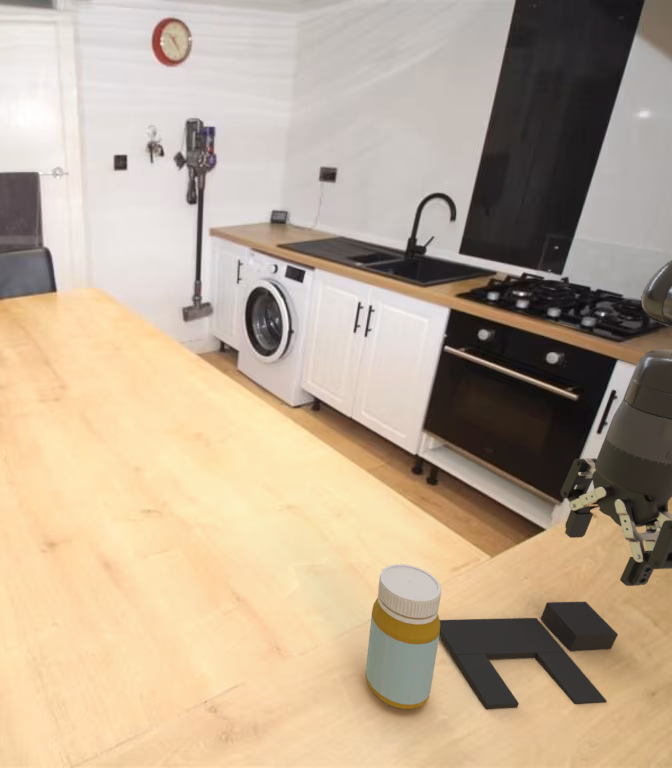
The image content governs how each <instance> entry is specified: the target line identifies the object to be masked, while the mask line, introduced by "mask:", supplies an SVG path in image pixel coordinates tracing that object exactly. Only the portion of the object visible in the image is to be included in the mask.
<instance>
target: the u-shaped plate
mask: <svg viewBox="0 0 672 768" xmlns="http://www.w3.org/2000/svg"><path fill="white" fill-rule="evenodd" d="M439 620H440V634H439V638H440V639H441V640H442V642H443V643H444V645H445V647H446V649H447V650H448V652H449V654H450V655H451V656H452V658H453V660H454V662H455V664H456V665H457V666H458V668H459V670H460V671H461V673H462V674H463V676H464V678H465V679H466V681H467V683H468V684H469V686H470V688H471V689H472V691H473V693H474V694H475V696H476V697H477V699H478V700H479V702H480V703H481V705H482V707H483V708H484V710H497V709H498V710H499V709H501V710H502V709H517V708H518V707H519V704H520V703H519V701H518V700H517V698H516V697H515V696H514V694H513V693H512V691H511V690H510V688H509V687H508V686H507V684H506V682H505V680H504V679H503V678H502V676H501V674H499V672H498V671H497V669H496V667H494V665H493V663H492V662H491V660H508V659H509V660H510V659H511V660H512V659H513V660H514V659H535V661H537V663H538V664H539V665H540V666H541V667H542V668H543V670H544V671H545V672H546V673H547V674H548V675H549V677H550V678H551V679H552V680H553V681H554V683H556V685H557V686H558V687H559V688H560V690H561V691H562V692H563V693H564V694H565V695H566V696H567V698H569V699H570V701H571V702H572V703H573V704H574V705H587V704H604V703H605V704H606V703H607V702H608V701H607V699H606V698H605V697H604V696H603V695H602V693H601V692H600V691H599V690H598V689H597V688H596V686H595V685H594V684H593V682H592V681H591V680H590V679H589V678H588V677H587V676H586V674H585V673H584V672H583V671H582V669H581V668H580V667H579V666H578V665H577V664H576V663H575V662H574V659H572V658H571V656H570V655H569V654H568V653H567V652H566V651H565V650H564V649H563V647H562V646H561V645H560V643H559V642H558V641H557V640H556V639H555V638H554V636H552V634H551V633H550V632H549V631H548V629H546V627H545V626H544V625H543V624H542V622H541V621H540V620H539V619H538V618H537V617H517V618H516V617H512V618H511V617H510V618H509V617H508V618H507V617H506V618H469V619H468V618H467V619H439Z"/></svg>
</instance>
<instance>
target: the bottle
mask: <svg viewBox="0 0 672 768" xmlns="http://www.w3.org/2000/svg"><path fill="white" fill-rule="evenodd" d="M377 588H378V590H377V591H378V593H377V598H376V599H375V601H374V602H373V603H372V610H371V617H370V626H369V634H368V635H369V636H368V645H367V654H366V662H365V663H366V664H365V679H366V683H367V686H368V687H369V689H370V691H372V693H374V695H375V696H376V697H378V699H380V700H381V701H382V702H384V703H386V704H387V705H389V706H392V707H394V708H397V709H401V710H409V709H410V710H412V709H418V708H420V707H422V706H423V705H425V704H426V703H427V702H428V700H429V699H430V696H431V695H430V694H431V691H432V685H433V678H434V672H435V666H436V659H437V653H438V648H439V647H438V645H439V640H440V636H439V634H440V620H441V619H440V616H439V610H440V609H439V608H440V604H441V597H442V586H441V584H440V582H439V580H438V579H437V578H436V577H435V576H434V575H433V574H432V573H430V572H428V571H427V570H425V569H423V568H420V567H418V566H415V565H411V564H404V563H398V564H397V563H396V564H391V565H388V566H386V567H384V568H383V569H382V570H381V572H380V574H379V581H378V587H377Z"/></svg>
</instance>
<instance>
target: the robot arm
mask: <svg viewBox="0 0 672 768" xmlns="http://www.w3.org/2000/svg"><path fill="white" fill-rule="evenodd" d="M641 307H642V310H643V312H644V313H645V315H646V316H647V317H648V318H649V319H651V320H652V321H655V322H656V323H658V324H660V325H664V326H667V327H671V328H672V259H671V260H670V261H668V262H667V263H665V264H664V265H663V266H661V267H660V268H659V269H658V270H657V271H656V272H655V273H654V274H653V275H652V276H651V278H650V279H649V280H648V282H647V283H646V285H645V287H644V289H643V291H642V296H641ZM591 484H593V490H590V491H589V492H588V490H589V488H590V487H591ZM560 496H561V497H562V498H563V499H567V501H568V502H569V504H568V506H569V509H570V511H569V513H568V516H567V519H566V522H565V526H564V527H565V531H564V534H565V535H566V536H568V537H569V538H570V539H571V538H574V539H575V538H577V539H578V538H584V537H585V535H586V534H587V531H588V529H589V526H590V523H591V521H592V518H593V516H594V513H593V512H592V511H593V510H596V509H598V511H600V512H601V513H602V514H603V515H606V516H607V517H610V518H611V519H612V520H613V522H614V523H615V524H617V525H618V526H620V527H621V529H622V533H623V537H624V539H625V540H626V541H627V542H628V543H629V546H630V550H631V555H632V556H629V558H628V560H627V563H626V565H625V567H624V569H623V572H622V574H621V576H620V578H619V581H620V582H621V583H622V584H624V586H626V587H638V586H645V585H646V584H648V582H649V580H650V578H651V576H652V574H653V572H654V570H670V569H672V513H670V512H669V501H670V500H671V499H672V349H654V350H650V351H648V352H645V353H644V354H643V355H642V356H641V357H640V358H639V360H638V361H637V364H636V366H635V367H634V370H633V372H632V375H631V377H630V380H629V383H628V385H627V388H626V390H625V393H624V396H623V399H622V400H621V402H620V404H619V405H618V408H617V409H616V411H615V412H614V414H613V417H612V419H611V421H610V424H609V426H608V430H607V432H606V434H605V437H604V440H603V442H602V445H601V447H600V450H599V453H598V455H597V457H596V458H595V457H593V458H589V457H588V458H586V457H585V458H575V459H574V460H573V462H572V464H571V466H570V469H569V471H568V473H567V476H566V477H565V480H564V483H563V485H562V487H561V489H560ZM644 526H645V529H646V530H645V532H639V531H638V530H637V528H641V527H644ZM644 542H645V544H644ZM645 545H646V549H647V550H646V549H645Z"/></svg>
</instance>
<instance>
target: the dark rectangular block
mask: <svg viewBox="0 0 672 768" xmlns="http://www.w3.org/2000/svg"><path fill="white" fill-rule="evenodd" d="M540 620H541V621H542V622H543V624H544V625H545V626H546V627H547V628H548V629H549V630H550V632H551V633H552V634H553V636H555V638H556V639H557V640H558V641H559V642H560V643H561V644H562V645H563V646H564V647H565V648H566V649H567V650H568V651H569V652H583V651H599V650H601V651H602V650H603V651H604V650H611V649H612V648H613V646H614V643H615V642H616V639H617V638H618V635H619V633H618V632H616V631H615V630H614V629H613V628H612V627H611V626H610V624H609V623H608V622H607V621H605V619H603V617H601V615H599V614H598V612H597V611H596V610H594V608H592V606H591V605H590V604H589V603H588V602H587V601H555V602H554V601H551V602H546V604H545V606H544V609H543V612H542V614H541V616H540Z"/></svg>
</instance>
